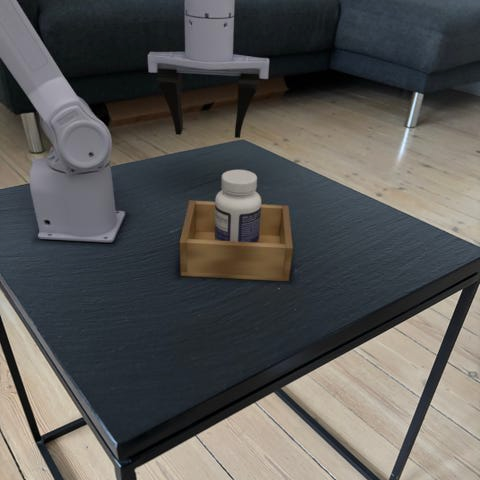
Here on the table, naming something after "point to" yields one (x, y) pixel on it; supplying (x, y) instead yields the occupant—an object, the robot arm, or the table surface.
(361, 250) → the table surface
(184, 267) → the bin
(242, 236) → the pill bottle
